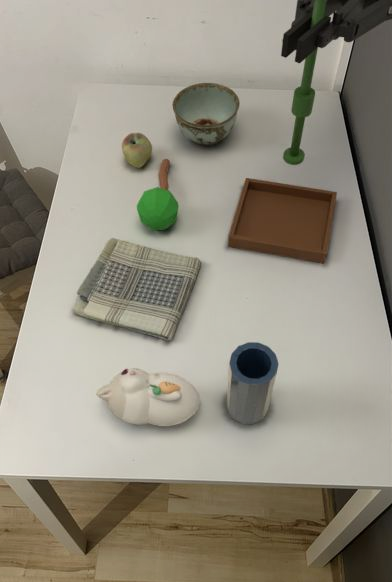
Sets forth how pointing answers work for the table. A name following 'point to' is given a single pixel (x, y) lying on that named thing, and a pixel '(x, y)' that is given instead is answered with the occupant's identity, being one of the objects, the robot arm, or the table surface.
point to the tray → (283, 220)
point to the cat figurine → (150, 397)
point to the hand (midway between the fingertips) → (291, 48)
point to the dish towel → (138, 288)
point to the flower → (304, 96)
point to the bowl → (206, 112)
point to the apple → (136, 149)
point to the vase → (251, 382)
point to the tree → (158, 203)
